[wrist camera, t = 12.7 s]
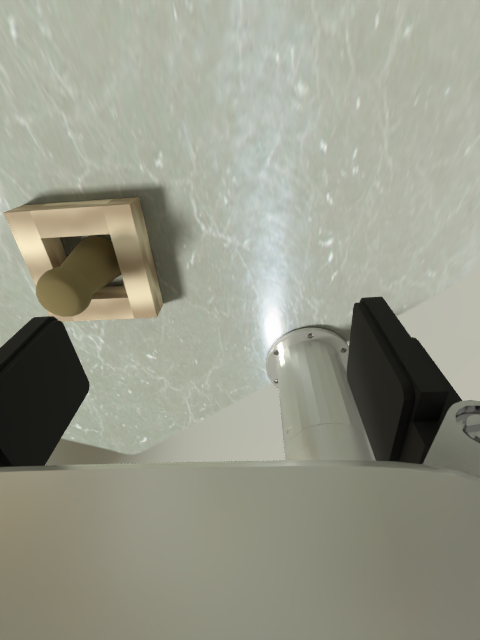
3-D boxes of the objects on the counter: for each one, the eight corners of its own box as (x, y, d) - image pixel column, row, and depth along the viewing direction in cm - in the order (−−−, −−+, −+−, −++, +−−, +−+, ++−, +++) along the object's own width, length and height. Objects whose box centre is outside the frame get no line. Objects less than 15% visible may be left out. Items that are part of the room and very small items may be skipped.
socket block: (163, 303, 45) (156, 317, 42) (65, 308, 46) (52, 321, 43) (139, 197, 37) (129, 204, 34) (22, 205, 38) (3, 212, 35)
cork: (133, 267, 42) (100, 310, 33) (98, 287, 44) (57, 334, 34) (101, 226, 39) (55, 261, 30) (65, 249, 41) (11, 289, 32)
